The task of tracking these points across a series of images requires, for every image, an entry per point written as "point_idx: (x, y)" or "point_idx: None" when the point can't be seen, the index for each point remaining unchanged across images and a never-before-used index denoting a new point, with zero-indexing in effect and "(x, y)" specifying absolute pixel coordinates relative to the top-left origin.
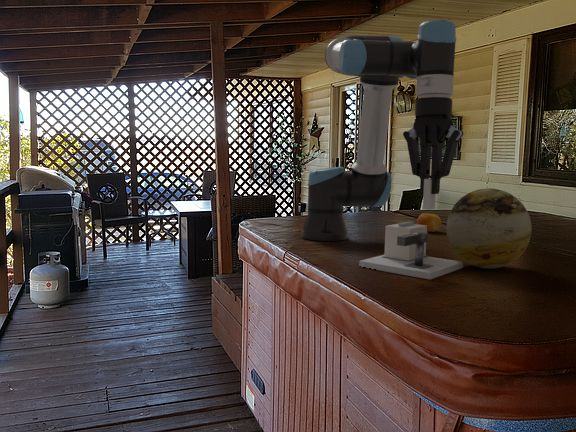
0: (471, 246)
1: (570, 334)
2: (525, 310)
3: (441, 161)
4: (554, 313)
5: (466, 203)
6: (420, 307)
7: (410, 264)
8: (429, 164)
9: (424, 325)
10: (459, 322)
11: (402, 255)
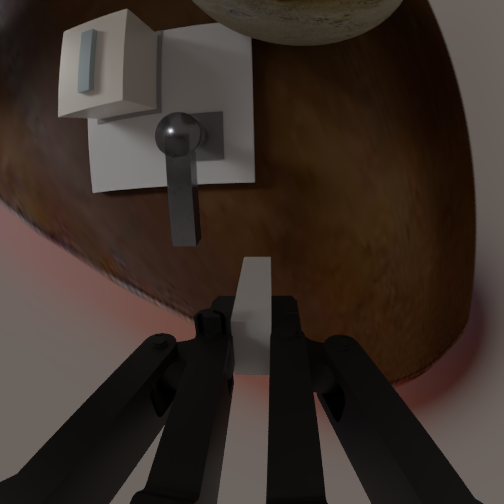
0: (294, 45)
1: (468, 314)
2: (435, 263)
3: (313, 406)
4: (462, 250)
5: None
6: None
7: None
8: (222, 395)
9: None
10: (377, 359)
11: (137, 110)
